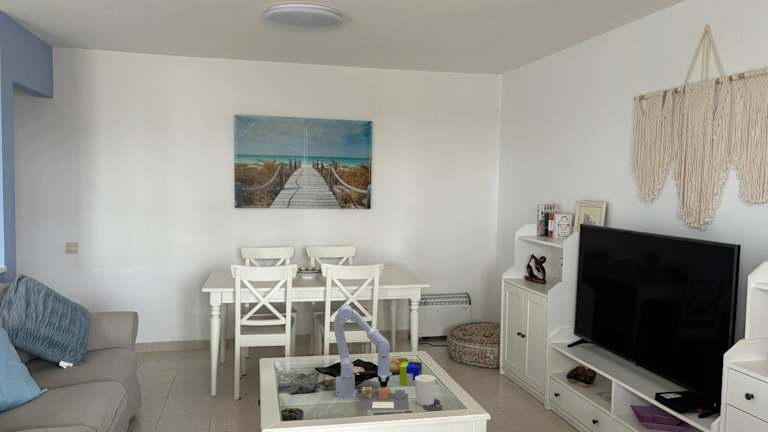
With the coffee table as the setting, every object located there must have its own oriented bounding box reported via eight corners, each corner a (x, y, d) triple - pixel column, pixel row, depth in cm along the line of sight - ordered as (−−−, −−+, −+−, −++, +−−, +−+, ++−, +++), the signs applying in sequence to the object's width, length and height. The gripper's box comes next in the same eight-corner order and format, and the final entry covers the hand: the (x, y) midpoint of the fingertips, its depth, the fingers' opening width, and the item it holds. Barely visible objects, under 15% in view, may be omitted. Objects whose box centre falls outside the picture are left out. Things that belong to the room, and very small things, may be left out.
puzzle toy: (419, 386, 299) (419, 367, 299) (400, 385, 301) (400, 366, 301) (421, 380, 309) (421, 362, 308) (403, 379, 311) (403, 361, 310)
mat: (356, 410, 266) (356, 409, 266) (359, 393, 288) (359, 393, 288) (408, 410, 266) (408, 409, 266) (407, 394, 288) (407, 393, 288)
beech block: (362, 399, 280) (362, 389, 280) (362, 395, 285) (362, 386, 284) (371, 399, 280) (371, 389, 280) (371, 395, 284) (371, 386, 284)
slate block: (395, 399, 280) (395, 390, 280) (395, 396, 284) (395, 386, 284) (404, 399, 280) (404, 390, 280) (404, 396, 284) (404, 387, 284)
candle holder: (421, 407, 269) (421, 382, 269) (411, 401, 278) (411, 376, 277) (439, 404, 274) (439, 379, 273) (428, 398, 282) (428, 373, 282)
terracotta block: (378, 399, 280) (378, 389, 280) (379, 395, 284) (379, 386, 284) (388, 399, 280) (388, 389, 280) (388, 395, 284) (388, 386, 284)
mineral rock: (320, 390, 293) (320, 371, 293) (310, 397, 283) (310, 377, 283) (298, 387, 298) (298, 368, 298) (287, 394, 288) (287, 374, 288)
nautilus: (421, 369, 330) (418, 379, 315) (384, 365, 334) (379, 374, 319) (422, 356, 329) (419, 365, 315) (385, 352, 333) (380, 360, 318)
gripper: (391, 368, 280) (391, 396, 281) (391, 360, 295) (391, 386, 295) (377, 368, 280) (377, 396, 281) (377, 359, 295) (378, 386, 295)
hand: (383, 391), depth 288 cm, fingers closed
